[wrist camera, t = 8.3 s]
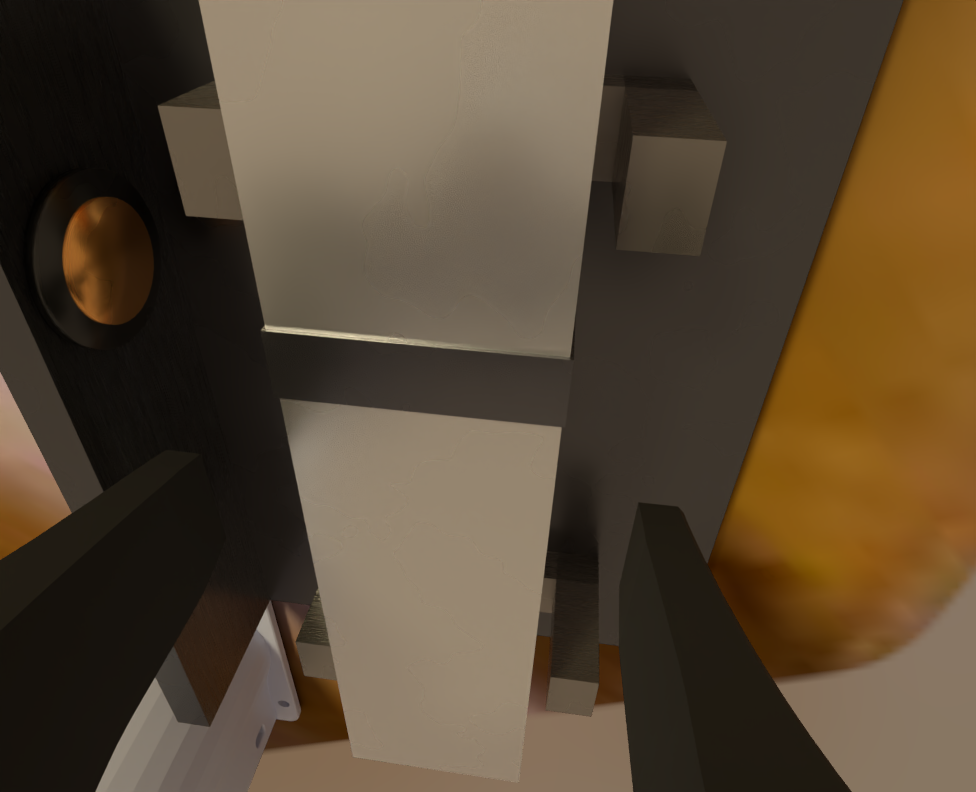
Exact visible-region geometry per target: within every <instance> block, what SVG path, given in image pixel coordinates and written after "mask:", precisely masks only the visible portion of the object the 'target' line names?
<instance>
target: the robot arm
mask: <svg viewBox="0 0 976 792" xmlns="http://www.w3.org/2000/svg"><path fill="white" fill-rule="evenodd" d="M225 540H226V534H225V531H224V528H223V525H222V521H221V518H220V515H219V512H218V509H217V505H216V502H215V499H214V496H213V492H212V489H211V486H210V483H209V480H208V476H207V473H206V470H205V467H204V463H203V460H202V457H201V454H197V453H188V452H179V451H170V450H165V451H164V452H162V453H161V454H159V455H157V456H156V457H154V458H153V459H151V460H150V461H148V462H147V463H145V464H144V465H142V466H141V467H139V468H138V469H136V470H135V471H133V472H132V473H130V474H129V475H127V476H126V477H124V478H123V479H121V480H120V481H119V482H117V483H116V484H114V485H113V486H111V487H110V488H108V489H107V490H105V491H104V492H103V493H101V494H100V495H98V496H97V497H95V498H94V499H92V500H91V501H90V502H88V503H87V504H85V505H84V506H82V507H81V508H79V509H78V510H76V511H75V512H73V513H72V514H70V515H69V516H67V517H66V518H64V519H63V520H61V521H60V522H59V523H57V524H56V525H54V526H53V527H51V528H50V529H48V530H47V531H45V532H44V533H42V534H41V535H39V536H38V537H36V538H35V539H33V540H32V541H30V542H28V543H27V544H25V545H24V546H22V547H20V548H19V549H17V550H16V551H14V552H12V553H11V554H9V555H8V556H6V557H5V558H3V559H1V560H0V792H248V789H249V786H250V784H251V781H252V779H253V776H254V774H255V771H256V769H257V766H258V764H259V761H260V759H261V756H262V754H263V751H264V749H265V746H266V744H267V741H268V738H269V736H270V733H271V731H272V728H273V726H274V723H275V721H276V719H279V720H286V721H295V720H297V719H298V718H299V716H300V713H301V707H300V704H299V700H298V697H297V693H296V689H295V686H294V682H293V679H292V675H291V671H290V668H289V664H288V661H287V657H286V653H285V650H284V646H283V643H282V639H281V636H280V632H279V628H278V625H277V621H276V618H275V614H274V610H273V607H272V603H271V600H270V602H269V604H268V606H267V608H266V610H265V612H264V614H263V616H262V618H261V621H260V623H259V625H258V627H257V629H256V631H255V633H254V635H253V637H252V639H251V642H250V644H249V646H248V648H247V650H246V652H245V654H244V656H243V658H242V661H241V663H240V665H239V667H238V669H237V671H236V673H235V675H234V677H233V680H232V682H231V684H230V686H229V688H228V690H227V692H226V694H225V696H224V699H223V701H222V703H221V705H220V707H219V709H218V711H217V713H216V715H215V718H214V720H213V722H212V724H211V726H210V727H206V726H200V725H193V724H187V723H180V722H178V721H177V719H176V717H175V715H174V713H173V711H172V709H171V707H170V706H169V704H168V702H167V700H166V698H165V696H164V694H163V692H162V690H161V688H160V686H159V684H158V682H157V680H156V678H155V677H156V675H157V673H158V672H159V670H160V668H161V666H162V665H163V663H164V661H165V660H166V658H167V656H168V654H169V653H170V651H171V649H172V648H173V646H174V644H175V642H176V641H177V639H178V637H179V636H180V634H181V632H182V630H183V629H184V627H185V625H186V623H187V622H188V620H189V618H190V616H191V615H192V613H193V611H194V609H195V608H196V606H197V604H198V602H199V600H200V599H201V597H202V595H203V593H204V591H205V589H206V586H207V584H208V582H209V579H210V577H211V575H212V572H213V570H214V568H215V565H216V563H217V560H218V558H219V555H220V553H221V550H222V548H223V545H224V543H225ZM619 653H620V664H621V674H622V684H623V695H624V704H625V714H626V723H627V734H628V743H629V753H630V763H631V773H632V782H633V792H851V790H850V789H849V788H848V786H847V785H846V784H845V782H844V781H843V780H842V778H841V777H840V776H839V775H838V773H837V772H836V771H835V769H834V768H833V766H832V765H831V764H830V762H829V761H828V760H827V758H826V757H825V756H824V754H823V753H822V751H821V750H820V748H819V747H818V746H817V745H816V744H815V742H814V740H813V739H812V737H811V736H810V735H809V733H808V732H807V730H806V729H805V727H804V726H803V724H802V723H801V722H800V720H799V719H798V717H797V716H796V714H795V713H794V711H793V710H792V708H791V707H790V705H789V704H788V702H787V701H786V699H785V698H784V696H783V695H782V693H781V692H780V690H779V688H778V687H777V685H776V684H775V682H774V681H773V679H772V677H771V676H770V674H769V673H768V671H767V670H766V668H765V666H764V665H763V663H762V662H761V660H760V658H759V657H758V655H757V653H756V652H755V650H754V648H753V647H752V645H751V643H750V642H749V640H748V638H747V636H746V635H745V633H744V631H743V629H742V628H741V626H740V624H739V622H738V621H737V619H736V617H735V615H734V614H733V612H732V610H731V608H730V607H729V605H728V603H727V601H726V599H725V597H724V596H723V594H722V592H721V590H720V588H719V586H718V584H717V582H716V580H715V579H714V577H713V575H712V573H711V571H710V569H709V567H708V565H707V563H706V561H705V559H704V557H703V555H702V553H701V550H700V548H699V546H698V544H697V542H696V540H695V538H694V536H693V533H692V531H691V529H690V527H689V524H688V522H687V520H686V517H685V515H684V513H683V512H682V510H681V509H680V508H679V507H678V506H669V505H660V504H651V503H642V502H638V506H637V511H636V515H635V519H634V524H633V528H632V532H631V537H630V541H629V545H628V550H627V554H626V558H625V563H624V567H623V572H622V576H621V580H620V585H619Z"/></svg>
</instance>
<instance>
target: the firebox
mask: <svg viewBox="0 0 976 792" xmlns="http://www.w3.org/2000/svg"><path fill="white" fill-rule="evenodd" d="M902 3H903V0H613V7H612V16H611V24H610V32H609V41H608V49H607V57H606V65H605V74H604V82H603V90H602V98H601V107H600V115H599V123H598V131H597V140H596V148H595V156H594V165H593V173H592V181H591V189H590V198H589V206H588V214H587V222H586V231H585V239H584V247H583V256H582V264H581V272H580V280H579V289H578V297H577V305H576V323H575V343H574V362H573V370H572V378H571V386H570V394H569V402H568V410H567V418H566V426H565V428H563V427H562V429H561V437H560V446H559V454H558V462H557V470H556V479H555V487H554V495H553V504H552V512H551V520H550V528H549V537H548V545H547V553H546V561H545V570H544V578H543V586H542V595H541V603H540V611H539V619H538V628H537V635H540V636H548V637H550V649H549V665H548V681H547V696H546V710H548V711H555V712H562V713H569V714H576V715H583V716H590V717H591V716H592V712H593V707H594V703H595V699H596V695H597V690H598V686H599V643H601V644H608V645H616V646H619V585H620V580H621V576H622V572H623V567H624V563H625V558H626V554H627V550H628V545H629V541H630V537H631V532H632V528H633V524H634V519H635V515H636V511H637V506H638V502H642V503H651V504H660V505H669V506H678V507H679V508H680V509H681V510H682V512H683V513H684V515H685V517H686V520H687V522H688V524H689V527H690V529H691V531H692V533H693V536H694V538H695V540H696V542H697V544H698V546H699V548H700V550H701V553H702V555H703V557H704V559H705V561H706V563H708V560H709V558H710V555H711V552H712V549H713V546H714V543H715V540H716V537H717V535H718V532H719V529H720V526H721V523H722V520H723V517H724V514H725V512H726V509H727V506H728V503H729V500H730V497H731V494H732V491H733V489H734V486H735V483H736V480H737V477H738V474H739V471H740V468H741V466H742V463H743V460H744V457H745V454H746V451H747V448H748V445H749V443H750V440H751V437H752V434H753V431H754V428H755V425H756V422H757V420H758V417H759V414H760V411H761V408H762V405H763V402H764V399H765V397H766V394H767V391H768V388H769V385H770V382H771V379H772V376H773V374H774V371H775V368H776V365H777V362H778V359H779V356H780V353H781V351H782V348H783V345H784V342H785V339H786V336H787V333H788V330H789V328H790V325H791V322H792V319H793V316H794V313H795V310H796V307H797V305H798V302H799V299H800V296H801V293H802V290H803V287H804V284H805V282H806V279H807V276H808V273H809V270H810V267H811V264H812V261H813V259H814V256H815V253H816V250H817V247H818V244H819V241H820V238H821V236H822V233H823V230H824V227H825V224H826V221H827V218H828V215H829V213H830V210H831V207H832V204H833V201H834V198H835V195H836V192H837V190H838V187H839V184H840V181H841V178H842V175H843V172H844V170H845V167H846V164H847V161H848V158H849V155H850V152H851V149H852V147H853V144H854V141H855V138H856V135H857V132H858V129H859V126H860V124H861V121H862V118H863V115H864V112H865V109H866V106H867V103H868V101H869V98H870V95H871V92H872V89H873V86H874V83H875V80H876V78H877V75H878V72H879V69H880V66H881V63H882V60H883V57H884V55H885V52H886V49H887V46H888V43H889V40H890V37H891V34H892V32H893V29H894V26H895V23H896V20H897V17H898V14H899V11H900V9H901V6H902ZM264 326H265V324H264V319H263V314H262V309H261V304H260V299H259V294H258V289H257V284H256V279H255V274H254V270H253V265H252V260H251V255H250V250H249V245H248V240H247V235H246V230H245V225H244V221H243V216H242V211H241V206H240V201H239V196H238V191H237V186H236V181H235V176H234V172H233V167H232V162H231V157H230V152H229V147H228V142H227V137H226V132H225V127H224V122H223V118H222V113H221V108H220V103H219V98H218V93H217V88H216V83H215V78H214V73H213V69H212V64H211V59H210V54H209V49H208V44H207V39H206V34H205V29H204V24H203V19H202V15H201V10H200V5H199V0H0V372H1V374H2V376H3V378H4V380H5V382H6V384H7V386H8V388H9V390H10V392H11V394H12V396H13V398H14V400H15V402H16V404H17V406H18V408H19V409H20V411H21V413H22V415H23V417H24V419H25V421H26V423H27V425H28V427H29V429H30V431H31V433H32V435H33V437H34V439H35V441H36V443H37V445H38V447H39V449H40V451H41V453H42V455H43V457H44V459H45V461H46V463H47V465H48V467H49V469H50V471H51V473H52V475H53V477H54V479H55V481H56V483H57V484H58V486H59V488H60V490H61V492H62V494H63V496H64V498H65V500H66V502H67V504H68V506H69V508H70V510H71V512H72V513H73V512H75V511H76V510H78V509H79V508H81V507H82V506H84V505H85V504H87V503H88V502H90V501H91V500H92V499H94V498H95V497H97V496H98V495H100V494H101V493H103V492H104V491H105V490H107V489H108V488H110V487H111V486H113V485H114V484H116V483H117V482H119V481H120V480H121V479H123V478H124V477H126V476H127V475H129V474H130V473H132V472H133V471H135V470H136V469H138V468H139V467H141V466H142V465H144V464H145V463H147V462H148V461H150V460H151V459H153V458H154V457H156V456H157V455H159V454H161V453H162V452H164V451H165V450H170V451H179V452H188V453H197V454H201V457H202V460H203V463H204V467H205V470H206V473H207V476H208V480H209V483H210V486H211V489H212V492H213V496H214V499H215V502H216V505H217V509H218V512H219V515H220V518H221V521H222V525H223V528H224V531H225V534H226V540H225V543H224V545H223V548H222V550H221V553H220V555H219V558H218V560H217V563H216V565H215V568H214V570H213V572H212V575H211V577H210V579H209V582H208V584H207V586H206V589H205V591H204V593H203V595H202V597H201V599H200V600H199V602H198V604H197V606H196V608H195V609H194V611H193V613H192V615H191V616H190V618H189V620H188V622H187V623H186V625H185V627H184V629H183V630H182V632H181V634H180V636H179V637H178V639H177V641H176V642H175V644H174V646H173V648H172V649H171V651H170V653H169V654H168V656H167V658H166V660H165V661H164V663H163V665H162V666H161V668H160V670H159V672H158V673H157V675H156V677H155V678H156V680H157V682H158V684H159V686H160V688H161V690H162V692H163V694H164V696H165V698H166V700H167V702H168V704H169V706H170V707H171V709H172V711H173V713H174V715H175V717H176V719H177V721H178V722H180V723H187V724H193V725H200V726H206V727H210V726H211V724H212V722H213V720H214V718H215V715H216V713H217V711H218V709H219V707H220V705H221V703H222V701H223V699H224V696H225V694H226V692H227V690H228V688H229V686H230V684H231V682H232V680H233V677H234V675H235V673H236V671H237V669H238V667H239V665H240V663H241V661H242V658H243V656H244V654H245V652H246V650H247V648H248V646H249V644H250V642H251V639H252V637H253V635H254V633H255V631H256V629H257V627H258V625H259V623H260V621H261V618H262V616H263V614H264V612H265V610H266V608H267V606H268V604H269V602H270V600H276V601H283V602H291V603H298V604H306V605H311V606H310V608H309V611H308V613H307V615H306V618H305V620H304V623H303V625H302V628H301V630H300V632H299V635H298V637H297V640H296V645H297V649H298V653H299V657H300V661H301V665H302V669H303V673H304V676H309V677H316V678H323V679H330V680H337V677H336V672H335V667H334V662H333V657H332V652H331V647H330V642H329V637H328V632H327V628H326V623H325V618H324V613H323V608H322V603H321V598H320V593H319V588H318V583H317V578H316V574H315V569H314V564H313V559H312V554H311V549H310V544H309V539H308V534H307V529H306V525H305V520H304V515H303V510H302V505H301V500H300V495H299V490H298V485H297V480H296V476H295V471H294V466H293V461H292V456H291V451H290V446H289V441H288V436H287V431H286V426H285V422H284V417H283V412H282V407H281V402H280V398H274V394H273V389H272V384H271V380H270V375H269V370H268V365H267V361H266V356H265V351H264V346H263V341H262V337H261V332H260V331H261V329H262V328H263V327H264Z"/></svg>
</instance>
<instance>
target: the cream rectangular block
mask: <svg viewBox="0 0 976 792" xmlns="http://www.w3.org/2000/svg"><path fill="white" fill-rule="evenodd" d="M199 5H200V10H201V15H202V19H203V24H204V29H205V34H206V39H207V44H208V49H209V54H210V59H211V64H212V69H213V73H214V78H215V83H216V88H217V93H218V98H219V103H220V108H221V113H222V118H223V122H224V127H225V132H226V137H227V142H228V147H229V152H230V157H231V162H232V167H233V172H234V176H235V181H236V186H237V191H238V196H239V201H240V206H241V211H242V216H243V221H244V225H245V230H246V235H247V240H248V245H249V250H250V255H251V260H252V265H253V270H254V274H255V279H256V284H257V289H258V294H259V299H260V304H261V309H262V314H263V319H264V324H265V326H264V327H263V328H262V329H261V331H260V332H261V337H262V341H263V346H264V351H265V356H266V361H267V365H268V370H269V375H270V380H271V384H272V389H273V394H274V398H280V402H281V407H282V412H283V417H284V422H285V426H286V431H287V436H288V441H289V446H290V451H291V456H292V461H293V466H294V471H295V476H296V480H297V485H298V490H299V495H300V500H301V505H302V510H303V515H304V520H305V525H306V529H307V534H308V539H309V544H310V549H311V554H312V559H313V564H314V569H315V574H316V578H317V583H318V588H319V593H320V598H321V603H322V608H323V613H324V618H325V623H326V628H327V632H328V637H329V642H330V647H331V652H332V657H333V662H334V667H335V672H336V677H337V681H338V686H339V691H340V696H341V701H342V706H343V711H344V716H345V721H346V726H347V731H348V735H349V740H350V745H351V750H352V755H353V757H355V758H362V759H368V760H375V761H381V762H388V763H395V764H401V765H407V766H414V767H420V768H427V769H434V770H440V771H446V772H453V773H460V774H466V775H473V776H479V777H486V778H493V779H499V780H505V781H512V782H519V775H520V768H521V760H522V751H523V743H524V735H525V727H526V719H527V710H528V702H529V694H530V685H531V677H532V669H533V661H534V652H535V644H536V636H537V628H538V619H539V611H540V603H541V595H542V586H543V578H544V570H545V561H546V553H547V545H548V537H549V528H550V520H551V512H552V504H553V495H554V487H555V479H556V470H557V462H558V454H559V446H560V437H561V429H562V427H563V428H565V426H566V418H567V410H568V402H569V394H570V386H571V378H572V370H573V362H574V343H575V323H576V305H577V297H578V289H579V280H580V272H581V264H582V256H583V247H584V239H585V231H586V222H587V214H588V206H589V198H590V189H591V181H592V173H593V165H594V156H595V148H596V140H597V131H598V123H599V115H600V107H601V98H602V90H603V82H604V74H605V65H606V57H607V49H608V41H609V32H610V24H611V16H612V7H613V0H199Z"/></svg>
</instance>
